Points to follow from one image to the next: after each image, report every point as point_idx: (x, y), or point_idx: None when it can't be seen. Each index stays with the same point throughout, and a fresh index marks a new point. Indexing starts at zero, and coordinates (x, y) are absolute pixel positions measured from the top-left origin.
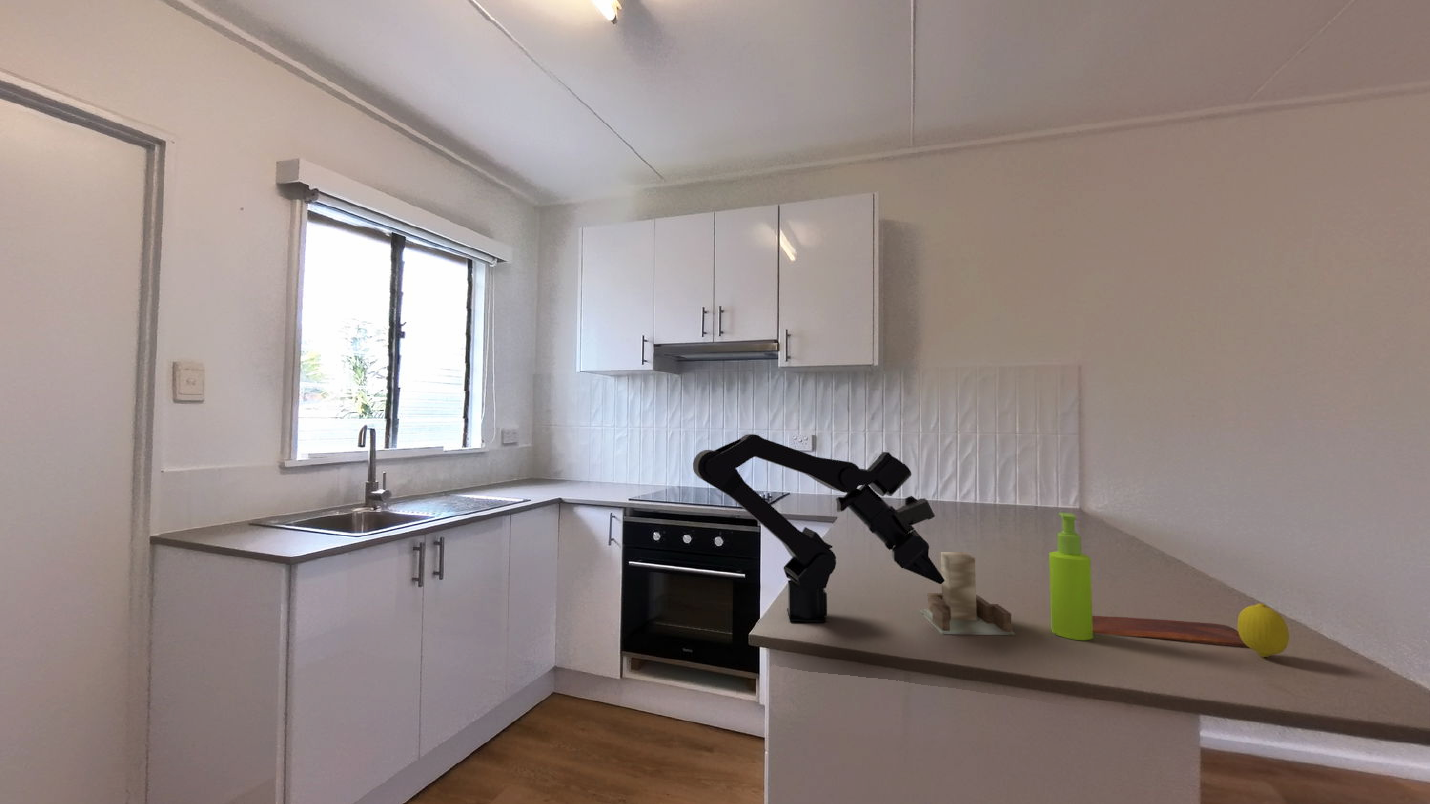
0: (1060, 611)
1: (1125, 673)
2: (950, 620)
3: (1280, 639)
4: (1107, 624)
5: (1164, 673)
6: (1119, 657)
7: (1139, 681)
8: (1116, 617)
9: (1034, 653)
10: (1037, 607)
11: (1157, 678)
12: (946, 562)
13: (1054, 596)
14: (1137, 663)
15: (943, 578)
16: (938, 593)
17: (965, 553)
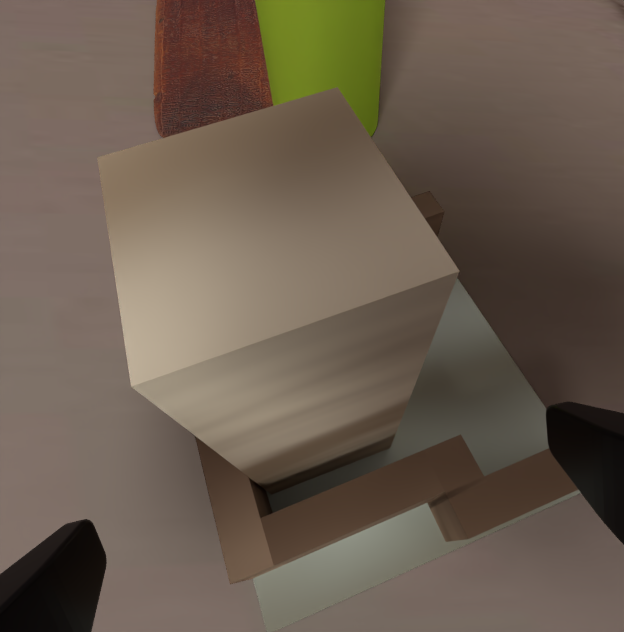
0: (369, 67)
1: (562, 63)
2: (401, 449)
3: None
4: (237, 58)
5: (507, 22)
6: (456, 64)
7: (594, 50)
8: (169, 44)
9: (565, 197)
10: (89, 178)
11: (548, 31)
12: (355, 346)
13: (354, 28)
14: (475, 46)
15: (584, 406)
16: (219, 505)
17: (147, 153)
